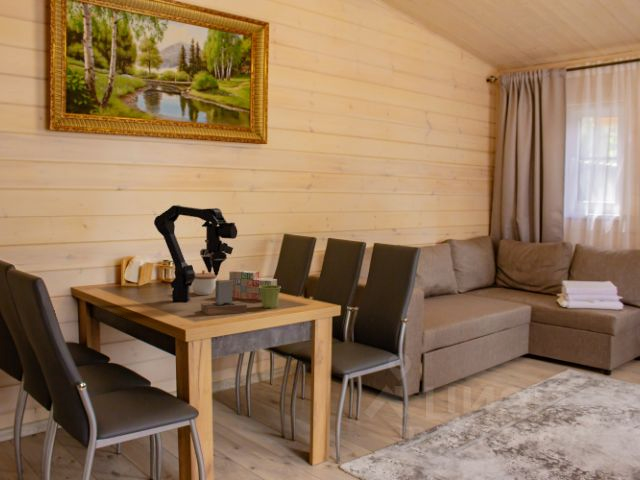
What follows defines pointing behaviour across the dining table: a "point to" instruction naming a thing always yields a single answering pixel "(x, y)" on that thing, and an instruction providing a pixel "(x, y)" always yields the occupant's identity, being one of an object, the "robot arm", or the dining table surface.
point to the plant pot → (269, 295)
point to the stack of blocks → (248, 284)
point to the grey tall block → (223, 292)
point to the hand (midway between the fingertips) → (212, 274)
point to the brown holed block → (223, 308)
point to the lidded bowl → (204, 283)
